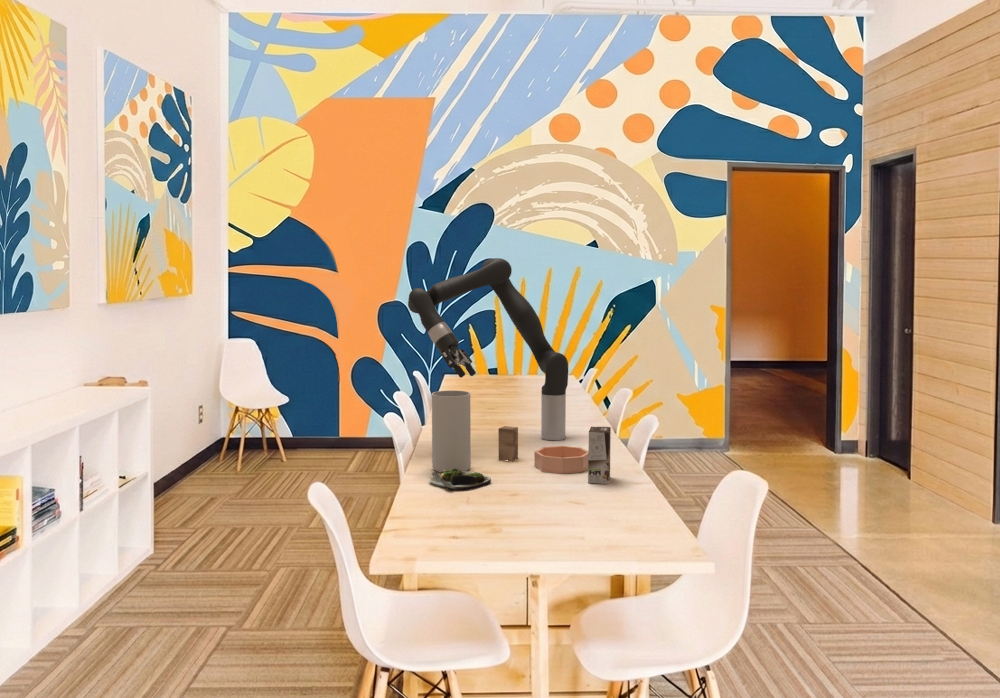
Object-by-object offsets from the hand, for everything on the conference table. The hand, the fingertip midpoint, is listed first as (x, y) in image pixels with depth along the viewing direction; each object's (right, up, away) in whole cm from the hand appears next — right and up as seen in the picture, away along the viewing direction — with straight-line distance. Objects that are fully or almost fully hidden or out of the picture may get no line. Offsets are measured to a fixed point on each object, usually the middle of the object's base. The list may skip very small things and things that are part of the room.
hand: (468, 375), depth 287 cm
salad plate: (-1, -32, -34) cm, 47 cm away
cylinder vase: (-5, -30, -16) cm, 35 cm away
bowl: (+31, -30, -14) cm, 45 cm away
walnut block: (+14, -29, -3) cm, 32 cm away
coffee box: (+42, -32, -30) cm, 60 cm away
